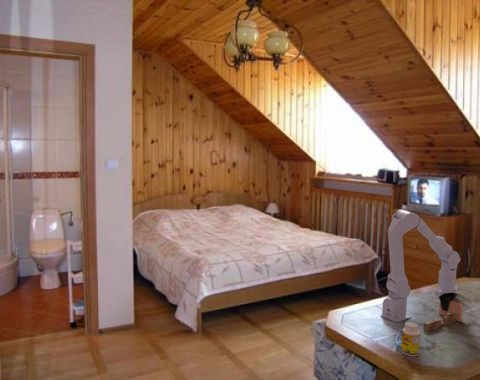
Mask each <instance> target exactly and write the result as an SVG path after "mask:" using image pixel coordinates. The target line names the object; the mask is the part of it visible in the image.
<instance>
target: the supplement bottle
mask: <svg viewBox="0 0 480 380" xmlns="http://www.w3.org/2000/svg"><path fill="white" fill-rule="evenodd" d="M418 327H419V325H418V324H417V323H415V322H412V321H407V322H405V324H404V327H403V328H402V330H401V332H402V333H401V343H400V344H401V345H400V351H401V353H402V354H403V355H405V356H407V355H408V357H416V356H418V355H419V351H420V338H421V337H420V335H421V331H420V330H419V328H418Z"/></svg>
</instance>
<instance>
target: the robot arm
mask: <svg viewBox="0 0 480 380" xmlns="http://www.w3.org/2000/svg"><path fill="white" fill-rule="evenodd" d="M391 218H392V220H391V222H390V225H389V227H388V229H387V237H388V250H389V251H388V253H389V255H388V256H389V267H390V269H389V270H390V272H389V274H388V275H387V281H386V288H387V290H388V296H387V297H386V298H385V299H383V301H382V308H381V309H382V313H381V314H380V317H382V318H384V319H386V320H390V321H392V322H395V323H398V322H399V323H400V322H402V321H404V320H408V319H411V316H410V315H407V304H408V297H409V296H410V294H411V290H412V289H411V287H410V285H409V279H408V278H407V276H406V273H405V259H404V258H405V257H404V244H403V241H404V240H403V236H404V234H406V233H408V232H409V231H412V230H413V229H416V230H417V231H418V232H419V233H420V234H421V235H422V236H423V237H424V238H425V239H427V241H428V242H429V243H428V245H429V247H430V248H431V249H432V250H433V251H434V252H435V253H436V254H437V255H438V258H439V259H440V260H441V265H440V266H441V268H440V269H441V279H440V287H439V288H438V287H437V289H436V290H435V291H434V296H436V297H438V300H439V303H440V302H441V307H442V310H444V311H448V308H449V303H450V300H451V301H454V302H455V299H456V298H457V297H458V295H457V293H458V292H459V291H460V285H457V284H456V282H457V269H458V264H459V263H460V262H461V259H462V258H461V257H460V254H459V253H458V252H457V251H456V250H453V246H451V245H450V244H449V243H447V242H446V238H444V237H442V236H440V235H436V234H435V233H434V232H433V231H432V230H431V229H430V227H429V226H428V225H427V224H426V222H425V221H424V220H423V218H421V217H420V216H419V215H418V214H417V213H415V212H411V211H408V210H406V209H398V210H397V211H396V212H394V214H392V217H391Z"/></svg>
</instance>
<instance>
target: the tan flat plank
mask: <svg viewBox="0 0 480 380" xmlns="http://www.w3.org/2000/svg"><path fill="white" fill-rule="evenodd" d="M463 306H464V304H463V303H460V302H457V301H455V300H454V301H451V300H450V303H449V308H448V311H444V310H442V307H441V302H440V301H439V309H438V311H439V313H438V314H439V315H441V316H442V317H444V316H447V315H449V314H453V313H454V314H456V321H457V322H462V320H463V319H462V317H463Z"/></svg>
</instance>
